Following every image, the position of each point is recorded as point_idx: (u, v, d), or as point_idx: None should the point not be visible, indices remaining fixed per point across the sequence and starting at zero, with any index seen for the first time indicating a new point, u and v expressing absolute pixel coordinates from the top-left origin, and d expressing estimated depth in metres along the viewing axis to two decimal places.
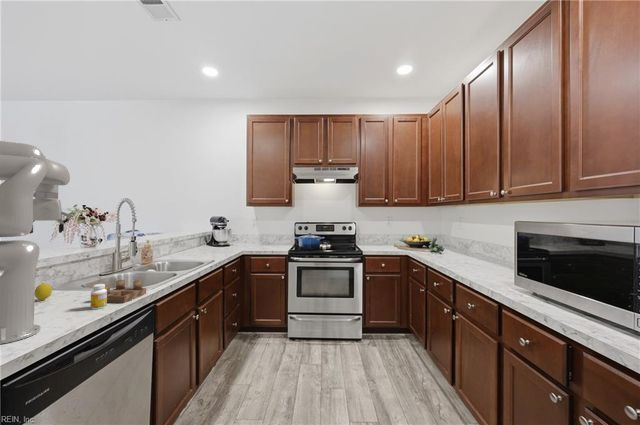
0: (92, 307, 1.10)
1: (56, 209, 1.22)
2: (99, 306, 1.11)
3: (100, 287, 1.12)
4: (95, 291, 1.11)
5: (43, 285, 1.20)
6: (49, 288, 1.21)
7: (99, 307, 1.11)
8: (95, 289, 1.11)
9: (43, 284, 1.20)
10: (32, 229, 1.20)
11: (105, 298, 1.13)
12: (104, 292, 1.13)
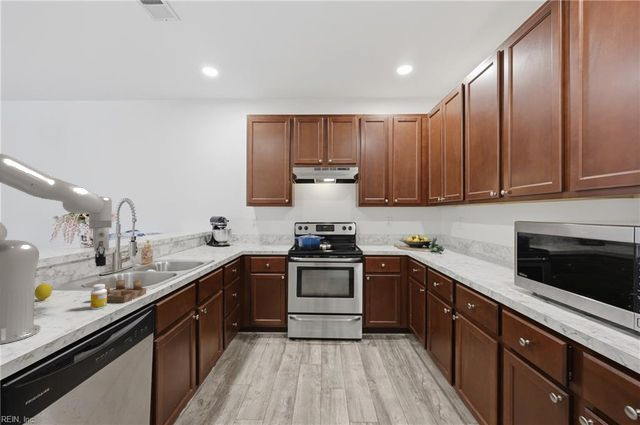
0: (92, 307, 1.10)
1: None
2: (99, 306, 1.11)
3: (100, 287, 1.12)
4: (95, 291, 1.11)
5: (43, 285, 1.20)
6: (49, 288, 1.21)
7: (99, 307, 1.11)
8: (95, 289, 1.11)
9: (43, 284, 1.20)
10: None
11: (105, 298, 1.13)
12: (104, 292, 1.13)
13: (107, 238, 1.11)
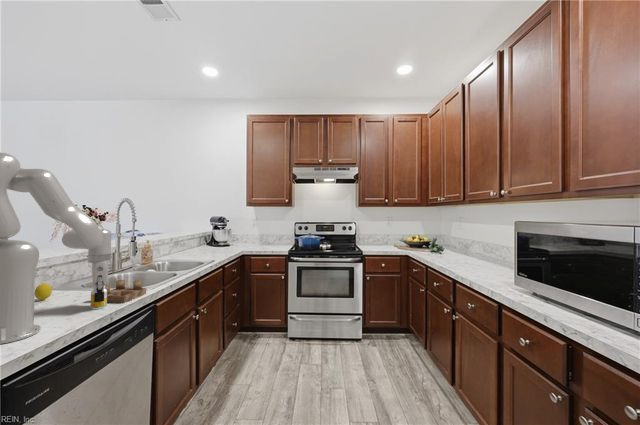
0: (92, 307, 1.10)
1: None
2: (99, 306, 1.11)
3: None
4: None
5: (43, 285, 1.20)
6: (49, 288, 1.21)
7: (99, 307, 1.11)
8: None
9: (43, 284, 1.20)
10: None
11: (105, 298, 1.13)
12: (104, 292, 1.13)
13: (106, 272, 1.11)
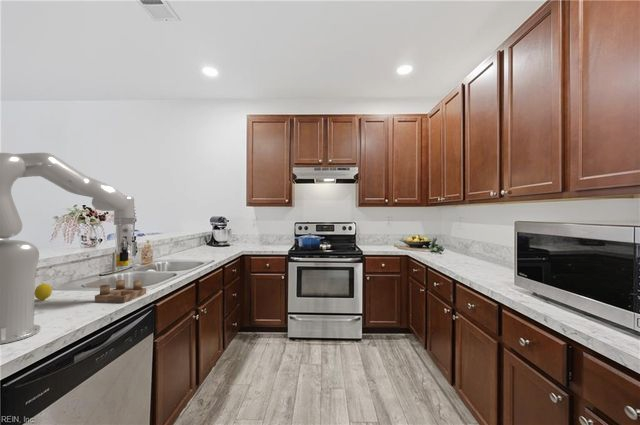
0: (117, 266, 1.21)
1: None
2: (124, 265, 1.22)
3: None
4: (120, 251, 1.21)
5: (43, 285, 1.20)
6: (49, 288, 1.21)
7: (124, 266, 1.22)
8: None
9: (43, 284, 1.20)
10: None
11: (129, 258, 1.24)
12: (128, 253, 1.23)
13: (130, 234, 1.21)
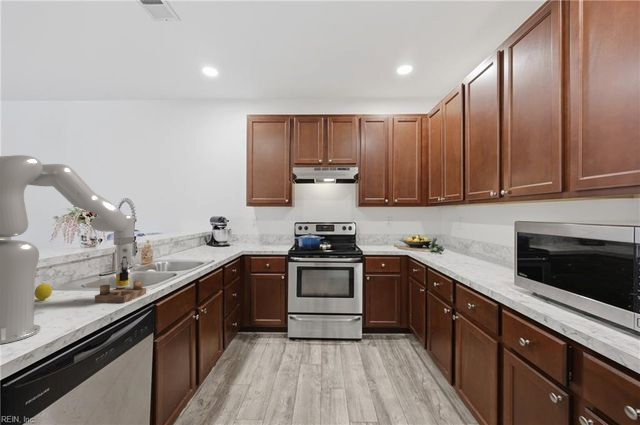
0: (117, 285, 1.21)
1: None
2: (124, 285, 1.22)
3: None
4: None
5: (43, 285, 1.20)
6: (49, 288, 1.21)
7: (124, 285, 1.22)
8: None
9: (43, 284, 1.20)
10: None
11: (129, 278, 1.24)
12: (128, 272, 1.23)
13: (130, 253, 1.21)
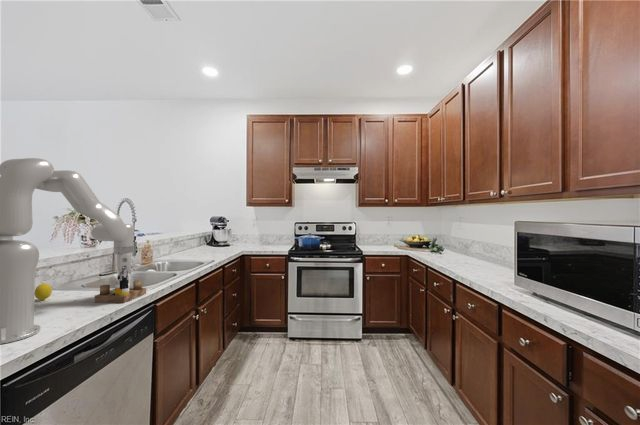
0: None
1: None
2: None
3: None
4: (119, 285, 1.21)
5: (43, 285, 1.20)
6: (49, 288, 1.21)
7: None
8: (119, 283, 1.21)
9: (43, 284, 1.20)
10: None
11: (128, 291, 1.23)
12: None
13: (130, 262, 1.21)
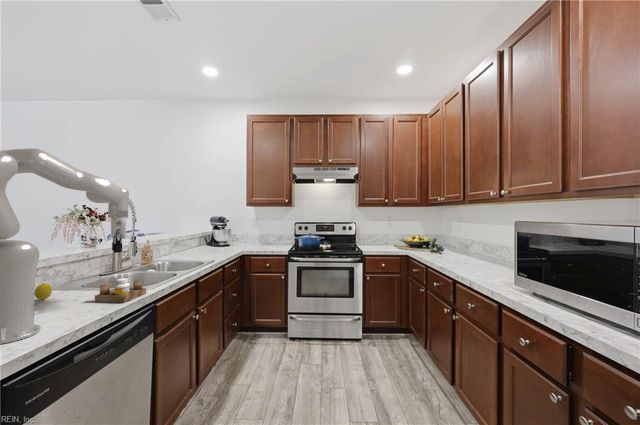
0: None
1: None
2: None
3: (124, 281, 1.22)
4: (119, 285, 1.21)
5: (43, 285, 1.20)
6: (49, 288, 1.21)
7: None
8: (119, 283, 1.21)
9: (43, 284, 1.20)
10: None
11: (128, 291, 1.23)
12: (127, 286, 1.23)
13: (124, 227, 1.20)
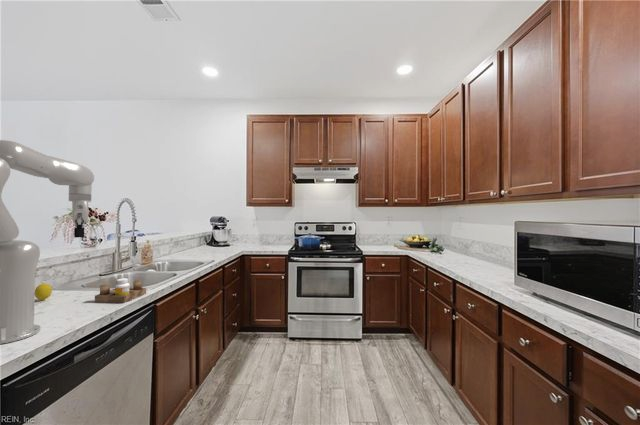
0: None
1: None
2: None
3: (124, 281, 1.22)
4: (119, 285, 1.21)
5: (43, 285, 1.20)
6: (49, 288, 1.21)
7: None
8: (119, 283, 1.21)
9: (43, 284, 1.20)
10: None
11: (128, 291, 1.23)
12: (127, 286, 1.23)
13: (86, 210, 1.15)
